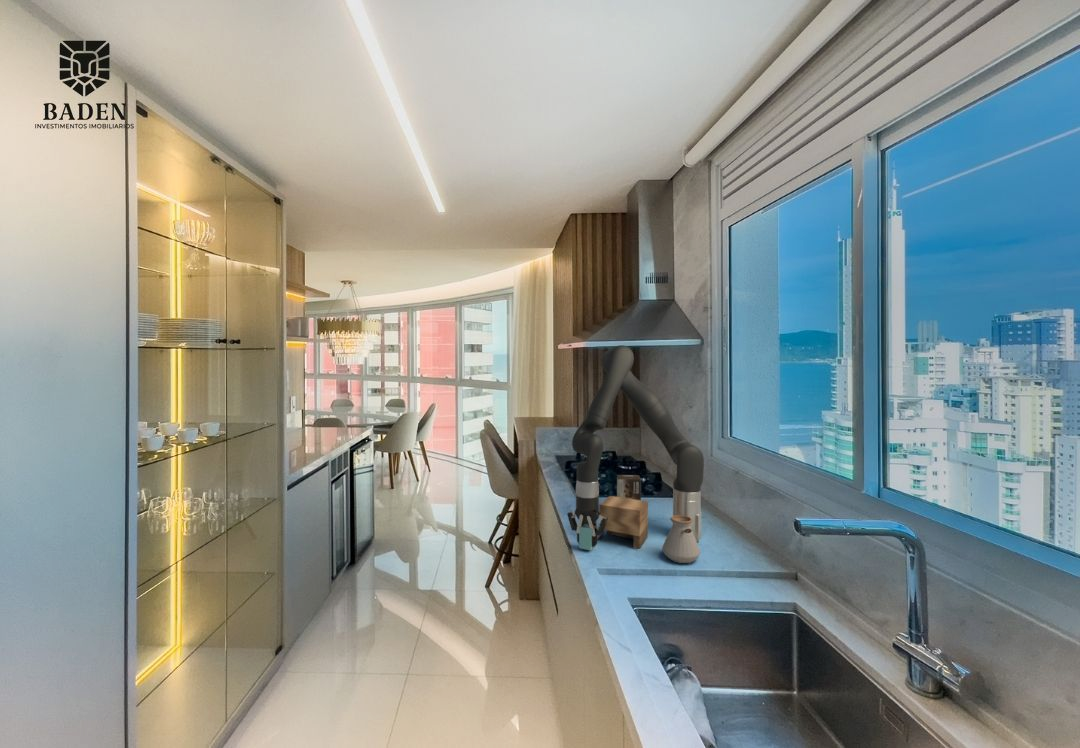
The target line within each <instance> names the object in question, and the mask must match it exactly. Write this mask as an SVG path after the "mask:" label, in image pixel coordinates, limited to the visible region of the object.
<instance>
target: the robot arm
mask: <svg viewBox="0 0 1080 748" xmlns="http://www.w3.org/2000/svg"><path fill="white" fill-rule="evenodd" d="M634 356H635V355H634V352H633V350H632V349H631V348H630V347H629V346H626V345H624V344H623V345H616V346H614V347H612V348H610V349H608V350H606V351H605V352H603V354H602V355H601V358H600V364H601V365H600V366H601V367H602V369H603V370H604V372H605V373H606V376H605V377H604V381H603V382H602V384H601V386H600V387H599V389H598V391H597V392H596V394H595V395H594V397H593V398H592V401H591V403H590V405H589V408H588V411H587V414H586V416H585V418H584V420H583V421H581V424H580V425H579V427H578V428H577V430H576V431H575V433H574V434H573V438H572V440H571V444H572V446H571V447H572V449H573V451H574V452H576V453H577V454H580V455H586V458H585V460H581V461H579V462H577V465H576V484H575V509H574V511H573V510H570V511H569V512H567V514H566V515H567V518H568V522H569V526H570V529H571V531H575V532H576V542H577V543H579V527H581V526H582V525H583V524H587V525H589V527H590V529H592V547H594V548H595V547H596V546H597V544H598V539H599V538H598V535H601V534H602V533H603V531H604V532H605V530H604V528H605V525H606V522H607V520H608V518H607V517H606V516H605V517H603V516H601V515H600V503H599V502H600V494H599V493H600V485H599V467H600V464H601V459H602V455H603V451H604V441H603V439H602V437H601V436H600V435H598V434H595V432H597V431H600V430H603V429H604V428H605V427H606V425H607V423H608V419H609V416H610V414H611V411H612V408H613V406H614V402H615V401H616V398H617V395H618V393H619V392H620V390H621V391H622V393H623V394H624V395H625V397H626V398H627V399H628V401H629V402H630V403H631V405H632V406H633V408H634V410H635V411H636V412H637V414H638V415H639V416H640V418H641V419H642V420H643V422H644V423H645V424H646V425H647V426H648V427H649V429H650V430H651V432H653V433H654V434H655V436H656V437H658V439H659V440H660V442H661V443H662V445H663V447H664V448H665V450H666V451H667V453H668V454H669V457H670V458H671V460H672V462H673V464H675V465H676V477H675V479H674V480H673V486H672V487H673V488H672V490H673V491H672V492H673V493H672V497H673V498H672V516H675V515H683V516H688V517H690V518H692V522H691V524H690V527H691V529H692V532H693V534H694V533H695V534H694V537H695V539H696V542H697V543H699V542H700V540H701V538H702V510H701V502H702V500H701V499H702V498H701V497H702V496H701V493H702V492H701V491H702V490H701V489H702V484H703V481H704V469H705V468H704V467H705V466H704V465H705V461H704V459H705V458H704V454H703V452H702V450H701V449H700V448H699V447H697V446H696V445H694V444H692V443H691V442H689V441H688V439H687V438H686V437H685V436H684V435H683V434H682V433H681V432H680V430H679V429H678V428H677V426H676V424H675V422H674V421H675V420H674V419H673V417H672V414H671V412H670V410H669V409H668V407H667V405H666V404H665V403H664V401H663V400H662V399H661V397H660V396H659V395H658V394H657V393H656V392H655V391H654V389H652V388H650V387H648V386H647V385H646V384H645V383H643V382H642V381H641V380H639V379H638V378H637V377H636V376H635V375H634V374H633V373H632V371H631V369H632V367H633V365H634V361H635V357H634ZM576 518H577V520H578V522H577V520H576ZM598 520H599V522H600V523H601V524H600V526H599V525H598V524H597V521H598ZM599 522H598V523H599ZM598 527H599V529H598V530H597V528H598ZM603 534H604V533H603ZM603 534H602V535H603ZM602 535H601V536H602ZM597 538H598V539H597Z"/></svg>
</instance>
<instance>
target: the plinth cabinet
mask: <svg viewBox="0 0 1080 748" xmlns="http://www.w3.org/2000/svg"><path fill="white" fill-rule="evenodd" d="M599 513H600V515H601V516H603V517H605V516H606V517H607V518H608V520H607V522H606V525H605V528H604V531H606V534H607V535H611V536H617V537H621V538H627V539H633V549H634V550H638V549H641V548H642V547H643V545H644V544H645V543H646V541H647V539H648V535H649V534H648V533H649V529H648V528H649V526H648V524H649V523H648V521H649V518H648V516H649V501H647V500H642V499H641V500H634V499H628V498H621V497H617V496H612V495H609V496H608V497H607V498H605V499H604V500H603V501H602V502H601V503H599ZM598 523H599V525H598V527H599V526H600V524H601V523H600V522H598Z"/></svg>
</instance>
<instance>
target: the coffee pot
mask: <svg viewBox="0 0 1080 748" xmlns="http://www.w3.org/2000/svg"><path fill="white" fill-rule="evenodd" d="M669 519H670V521H671V522H672V526H671V528H670V530H669V532H668V534H667V536H666V538H665V540H664V543H663V544H662V551H663V553H664V555H665V556H666V557H667V558H668V559H669V558H670V559H671V560H673V561H675V562H674V563H676V562H679V563H678V564H681V563H689V564H692V563H693V562H695V561H697V559H698V558H699V557H700V555H701V549H700V546H699V544H698V542H696V539H695V537H694V534H695V533H694V534H693V532H692V529H691V527H690V524H691V522H692V518H690V517H688V516H683V515H675V516H673V515H672V516H671V517H669ZM670 559H669V560H670ZM671 560H670V561H671ZM673 561H672V562H673ZM691 562H692V563H691Z"/></svg>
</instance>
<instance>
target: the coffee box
mask: <svg viewBox="0 0 1080 748" xmlns="http://www.w3.org/2000/svg"><path fill="white" fill-rule="evenodd" d="M641 492H642V479H641V477H640V475H638V474H617V475H616V497H621V498H628V499H634V500H641V501H642V493H641Z"/></svg>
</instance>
